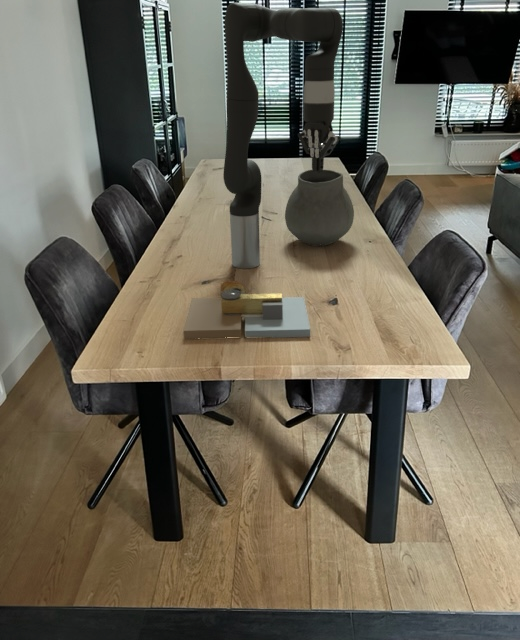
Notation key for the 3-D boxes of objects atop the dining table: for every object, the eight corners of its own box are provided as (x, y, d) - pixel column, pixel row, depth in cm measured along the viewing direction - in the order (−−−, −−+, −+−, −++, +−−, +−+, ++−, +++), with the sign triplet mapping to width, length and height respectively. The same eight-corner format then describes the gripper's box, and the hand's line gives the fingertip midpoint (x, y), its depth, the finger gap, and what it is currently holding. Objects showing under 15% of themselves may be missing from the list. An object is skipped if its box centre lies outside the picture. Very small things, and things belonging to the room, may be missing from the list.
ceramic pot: (273, 248, 202) (272, 177, 192) (301, 229, 222) (301, 164, 211) (338, 257, 192) (341, 182, 181) (361, 237, 211) (365, 169, 200)
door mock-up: (192, 306, 158) (190, 286, 155) (303, 303, 158) (304, 283, 155) (184, 339, 140) (182, 317, 137) (310, 336, 140) (310, 314, 137)
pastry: (216, 288, 170) (215, 276, 168) (237, 285, 172) (237, 273, 170) (225, 300, 162) (224, 288, 160) (247, 297, 164) (247, 284, 162)
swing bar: (221, 315, 146) (220, 297, 143) (222, 306, 150) (221, 289, 148) (282, 313, 145) (282, 295, 143) (281, 305, 150) (281, 288, 148)
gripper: (349, 100, 137) (346, 173, 145) (310, 98, 147) (309, 166, 154) (328, 103, 133) (326, 177, 141) (289, 100, 142) (289, 170, 150)
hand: (317, 171), depth 147 cm, fingers closed
